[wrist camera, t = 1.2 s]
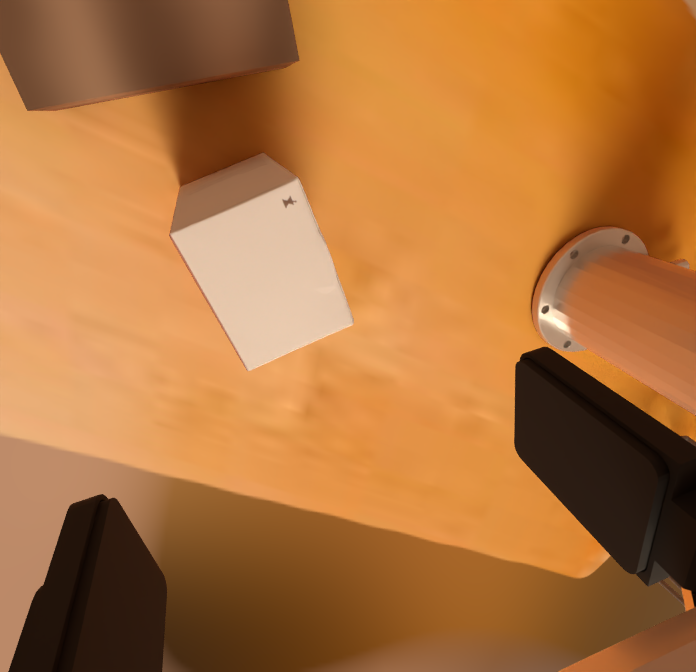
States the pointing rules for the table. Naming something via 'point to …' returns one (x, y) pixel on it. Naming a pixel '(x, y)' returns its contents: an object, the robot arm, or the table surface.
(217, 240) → the small box
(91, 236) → the table surface
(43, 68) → the walnut plinth
